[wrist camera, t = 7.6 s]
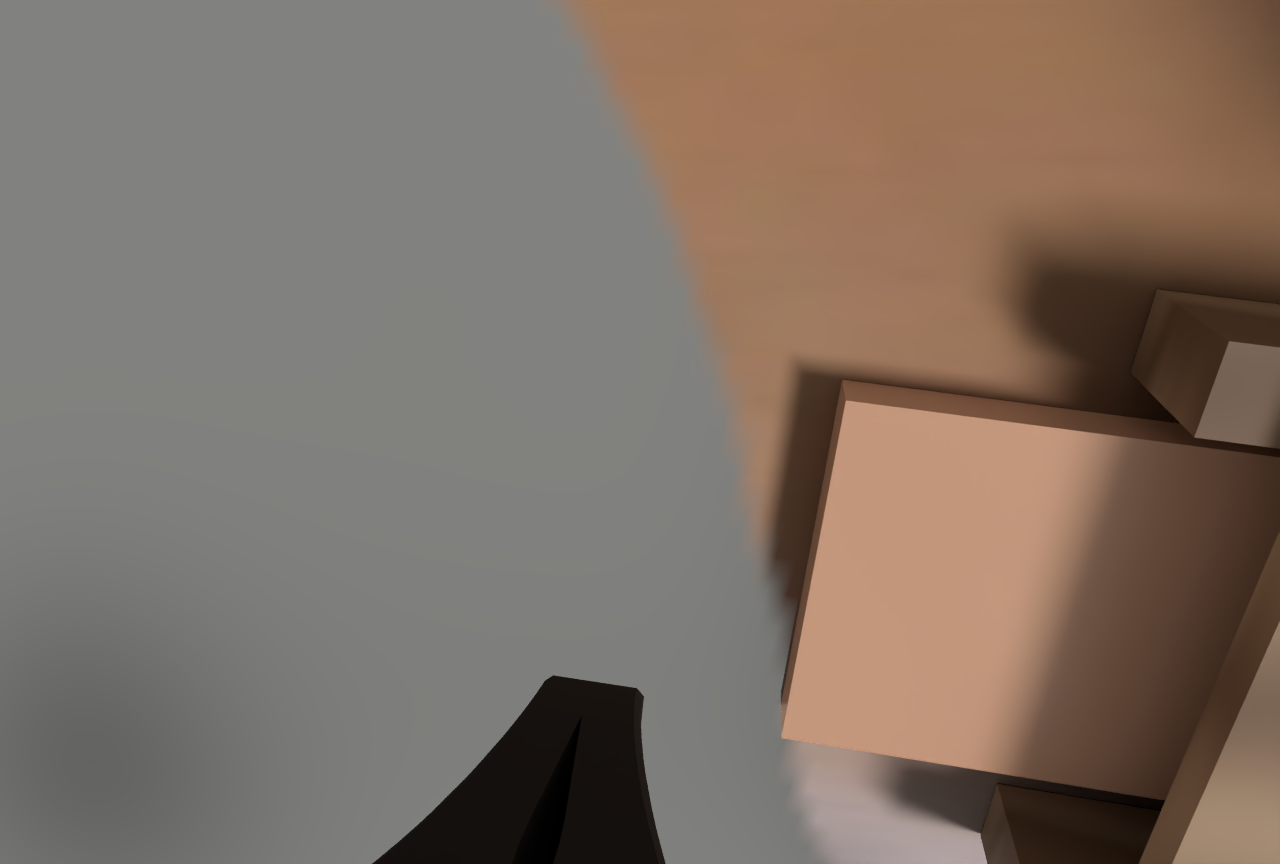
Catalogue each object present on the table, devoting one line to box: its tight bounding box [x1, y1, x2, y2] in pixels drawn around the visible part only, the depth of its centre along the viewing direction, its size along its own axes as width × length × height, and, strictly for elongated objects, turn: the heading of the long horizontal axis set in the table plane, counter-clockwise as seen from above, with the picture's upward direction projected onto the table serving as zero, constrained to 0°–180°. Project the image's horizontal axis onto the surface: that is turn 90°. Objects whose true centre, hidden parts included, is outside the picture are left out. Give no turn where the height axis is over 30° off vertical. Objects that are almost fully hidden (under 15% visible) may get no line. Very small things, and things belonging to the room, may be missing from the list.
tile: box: [781, 380, 1280, 800], centre depth 22 cm, size 9×12×2 cm
